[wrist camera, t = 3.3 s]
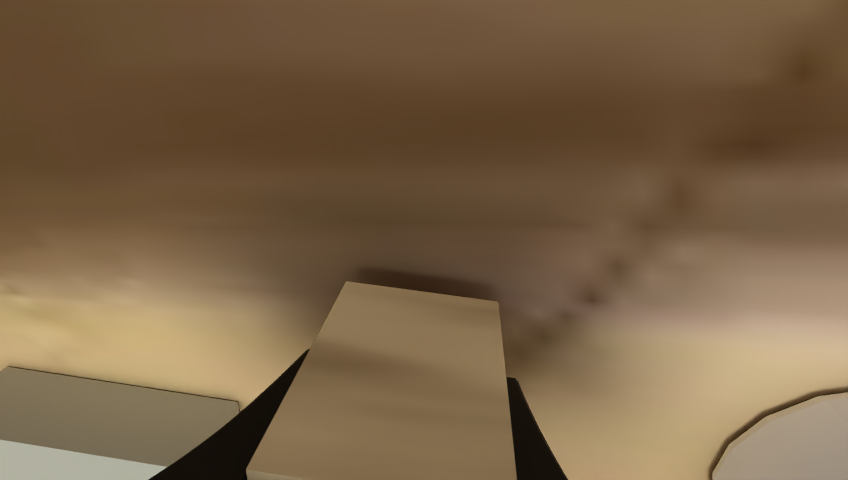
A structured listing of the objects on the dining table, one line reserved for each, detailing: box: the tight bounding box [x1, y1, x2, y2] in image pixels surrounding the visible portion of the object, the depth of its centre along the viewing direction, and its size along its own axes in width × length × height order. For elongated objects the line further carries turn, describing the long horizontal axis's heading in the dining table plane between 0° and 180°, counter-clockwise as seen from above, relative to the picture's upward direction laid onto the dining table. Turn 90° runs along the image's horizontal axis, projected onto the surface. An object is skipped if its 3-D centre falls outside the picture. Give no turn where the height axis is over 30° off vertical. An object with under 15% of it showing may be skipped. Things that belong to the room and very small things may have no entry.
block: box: [246, 281, 517, 480], centre depth 10 cm, size 4×4×6 cm
